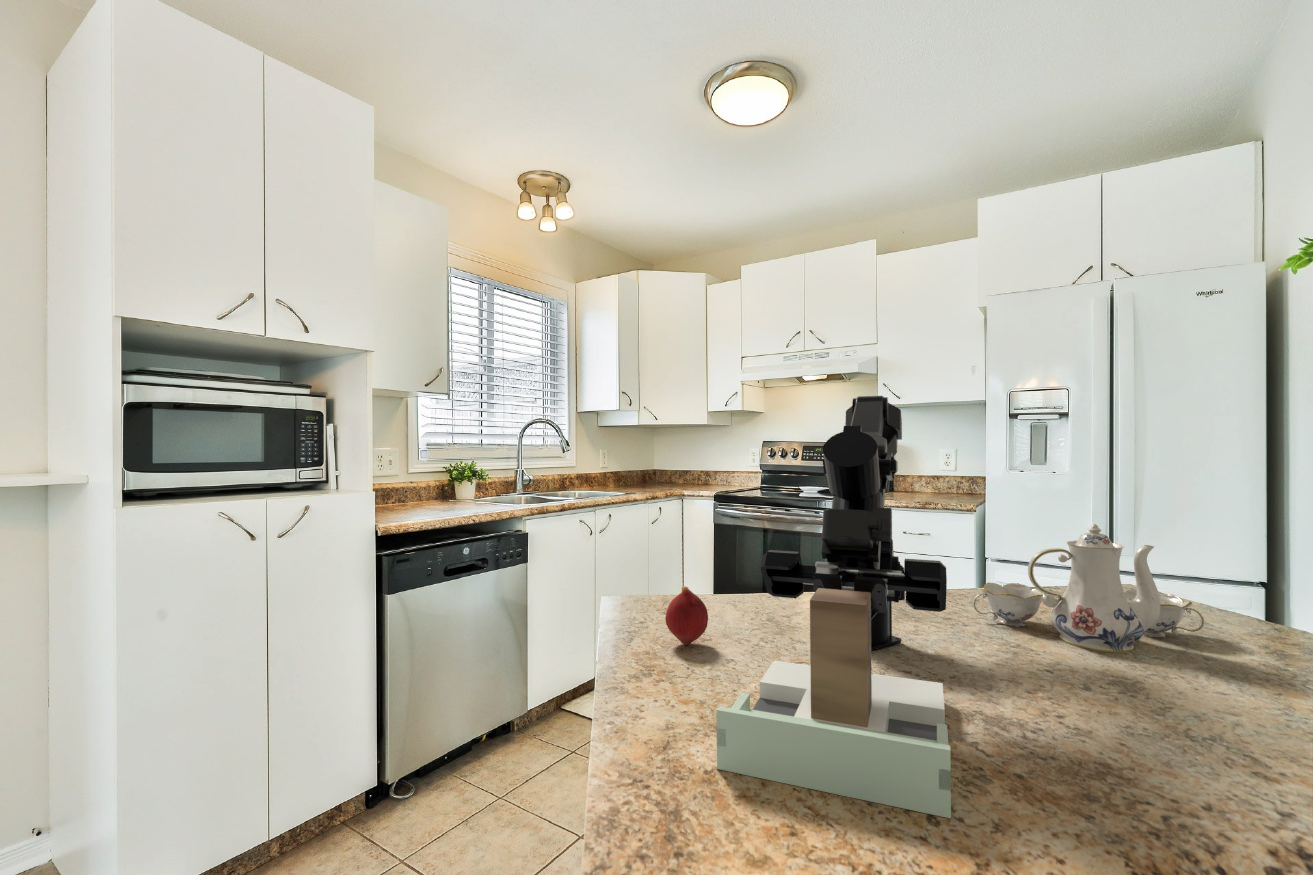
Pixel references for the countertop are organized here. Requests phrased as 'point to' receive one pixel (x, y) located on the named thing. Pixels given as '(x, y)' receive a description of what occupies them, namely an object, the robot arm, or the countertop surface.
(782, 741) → the box
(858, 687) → the walnut block
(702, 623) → the onion
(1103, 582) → the chinaware
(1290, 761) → the countertop surface
